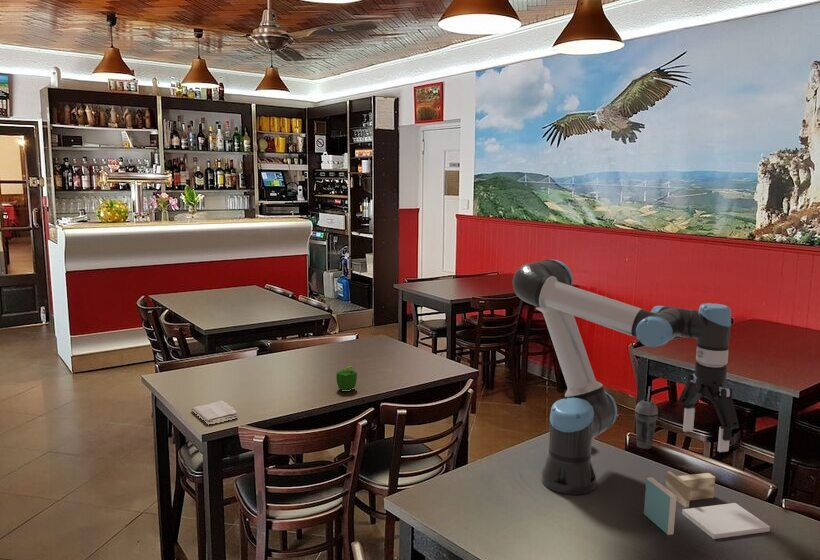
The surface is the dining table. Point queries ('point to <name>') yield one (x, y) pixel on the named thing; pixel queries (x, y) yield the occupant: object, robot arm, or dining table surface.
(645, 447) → the beverage cup
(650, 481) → the tile
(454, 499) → the dining table surface
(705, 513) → the board
